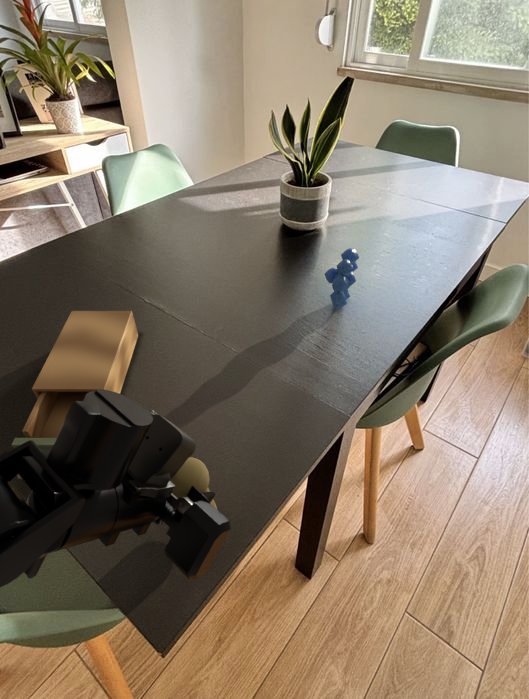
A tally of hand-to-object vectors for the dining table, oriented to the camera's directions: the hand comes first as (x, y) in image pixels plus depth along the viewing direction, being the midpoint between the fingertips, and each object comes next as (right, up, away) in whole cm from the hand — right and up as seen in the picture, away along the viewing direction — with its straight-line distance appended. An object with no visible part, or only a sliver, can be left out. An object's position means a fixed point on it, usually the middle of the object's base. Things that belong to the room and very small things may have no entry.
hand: (198, 483), depth 52 cm
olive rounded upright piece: (-1, -6, +4) cm, 7 cm away
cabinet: (-22, +12, +25) cm, 36 cm away
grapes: (+24, +27, +40) cm, 54 cm away
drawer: (-22, +5, +16) cm, 28 cm away
